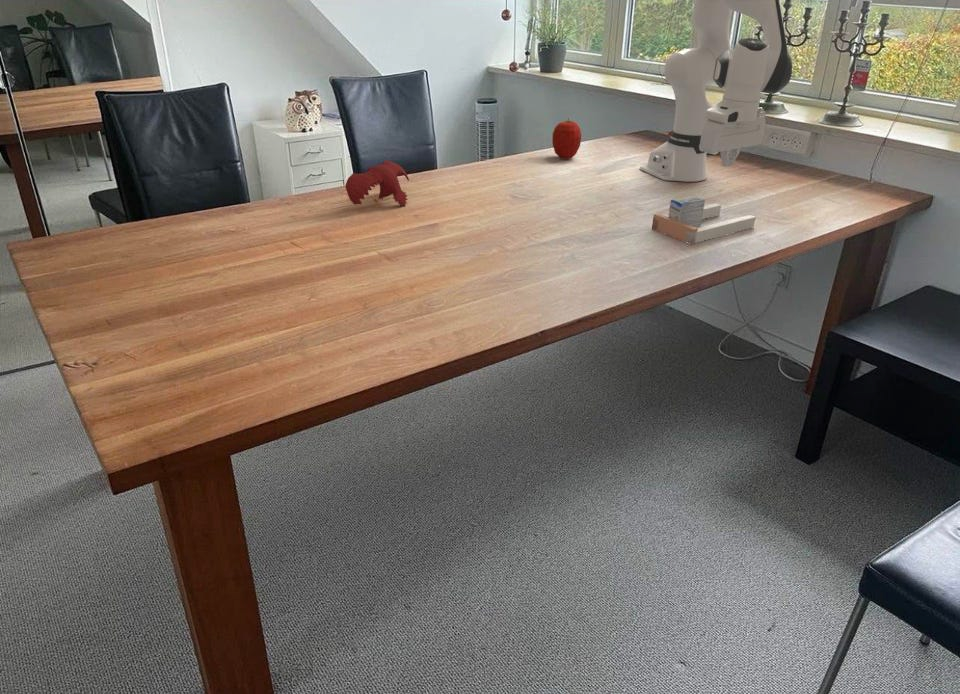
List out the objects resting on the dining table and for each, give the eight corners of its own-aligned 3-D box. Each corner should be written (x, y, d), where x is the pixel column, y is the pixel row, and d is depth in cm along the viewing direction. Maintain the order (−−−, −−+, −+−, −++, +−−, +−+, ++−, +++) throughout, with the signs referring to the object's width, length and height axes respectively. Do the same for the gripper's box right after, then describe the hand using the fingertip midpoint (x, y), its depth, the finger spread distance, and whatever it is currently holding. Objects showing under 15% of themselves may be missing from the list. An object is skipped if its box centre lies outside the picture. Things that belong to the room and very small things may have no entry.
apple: (551, 154, 253) (554, 114, 247) (579, 155, 252) (583, 115, 245) (550, 161, 244) (552, 120, 238) (579, 162, 243) (582, 121, 237)
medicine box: (687, 226, 187) (693, 194, 183) (700, 231, 183) (705, 199, 179) (665, 231, 183) (670, 199, 179) (677, 236, 180) (682, 203, 176)
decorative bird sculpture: (416, 205, 214) (386, 164, 212) (435, 187, 208) (405, 146, 207) (363, 233, 192) (329, 188, 190) (383, 215, 186) (348, 168, 184)
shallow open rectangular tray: (651, 228, 185) (653, 214, 183) (713, 213, 196) (716, 199, 194) (690, 244, 175) (693, 229, 173) (753, 227, 187) (756, 213, 185)
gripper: (756, 104, 182) (744, 157, 189) (701, 111, 172) (690, 167, 179) (776, 109, 177) (763, 163, 184) (721, 117, 167) (709, 174, 175)
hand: (727, 165), depth 182 cm, fingers closed
